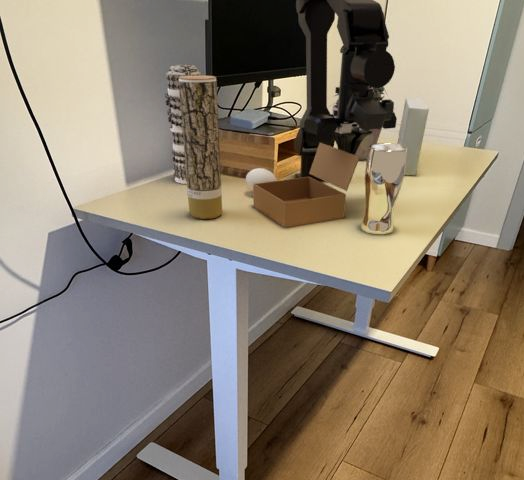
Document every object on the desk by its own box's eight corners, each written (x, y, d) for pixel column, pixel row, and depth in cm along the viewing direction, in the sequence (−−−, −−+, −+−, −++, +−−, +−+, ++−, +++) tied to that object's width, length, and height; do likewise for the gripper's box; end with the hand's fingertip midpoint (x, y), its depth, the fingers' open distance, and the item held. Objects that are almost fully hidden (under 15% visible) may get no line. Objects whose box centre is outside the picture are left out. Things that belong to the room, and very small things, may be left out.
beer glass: (356, 222, 98) (365, 142, 90) (391, 223, 98) (404, 142, 90) (361, 235, 92) (371, 150, 84) (398, 235, 92) (412, 151, 84)
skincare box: (417, 176, 127) (429, 108, 118) (396, 175, 128) (406, 107, 119) (413, 157, 144) (423, 97, 135) (394, 156, 145) (403, 96, 136)
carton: (253, 206, 106) (253, 183, 104) (308, 198, 111) (309, 176, 109) (284, 227, 96) (285, 203, 93) (343, 217, 100) (346, 194, 98)
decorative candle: (169, 176, 126) (157, 64, 112) (204, 173, 129) (197, 63, 115) (177, 186, 119) (166, 67, 105) (214, 182, 122) (208, 66, 108)
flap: (319, 142, 106) (320, 142, 106) (309, 173, 108) (310, 173, 108) (358, 156, 95) (360, 156, 95) (345, 190, 97) (346, 191, 98)
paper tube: (209, 222, 98) (200, 79, 84) (182, 216, 101) (170, 77, 87) (228, 213, 103) (223, 76, 89) (203, 207, 106) (194, 74, 92)
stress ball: (278, 208, 115) (287, 181, 115) (264, 196, 108) (274, 167, 108) (251, 202, 119) (260, 175, 118) (235, 189, 111) (245, 161, 111)
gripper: (336, 89, 85) (329, 181, 94) (421, 84, 92) (407, 170, 100) (304, 82, 93) (300, 168, 102) (384, 78, 100) (374, 159, 109)
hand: (346, 166), depth 103 cm, fingers closed
